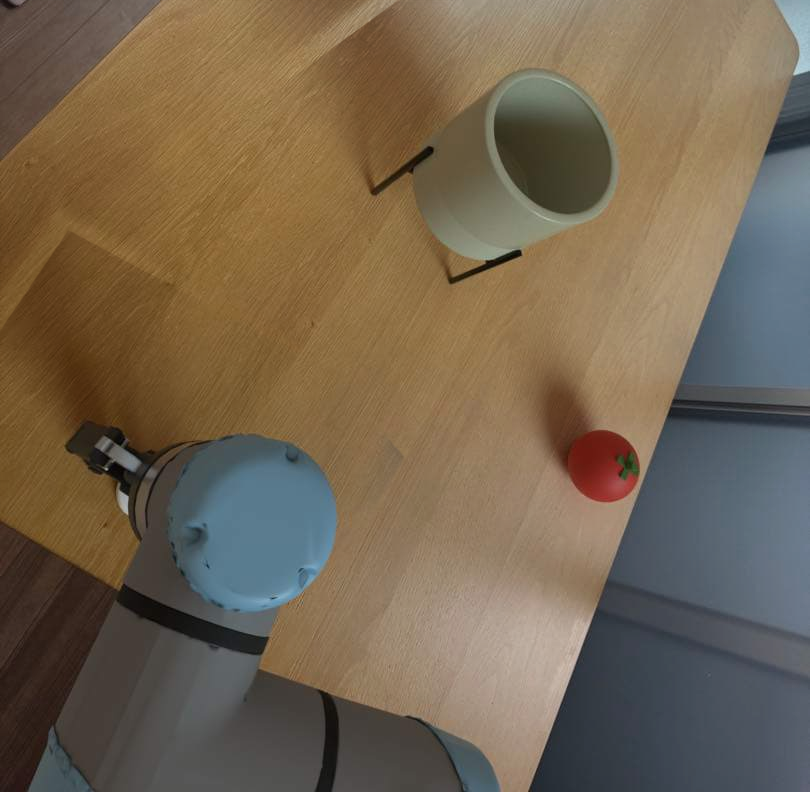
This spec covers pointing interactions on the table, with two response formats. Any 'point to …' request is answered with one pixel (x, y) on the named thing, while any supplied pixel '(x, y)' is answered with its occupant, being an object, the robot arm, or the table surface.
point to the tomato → (603, 466)
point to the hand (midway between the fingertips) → (146, 488)
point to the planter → (514, 168)
